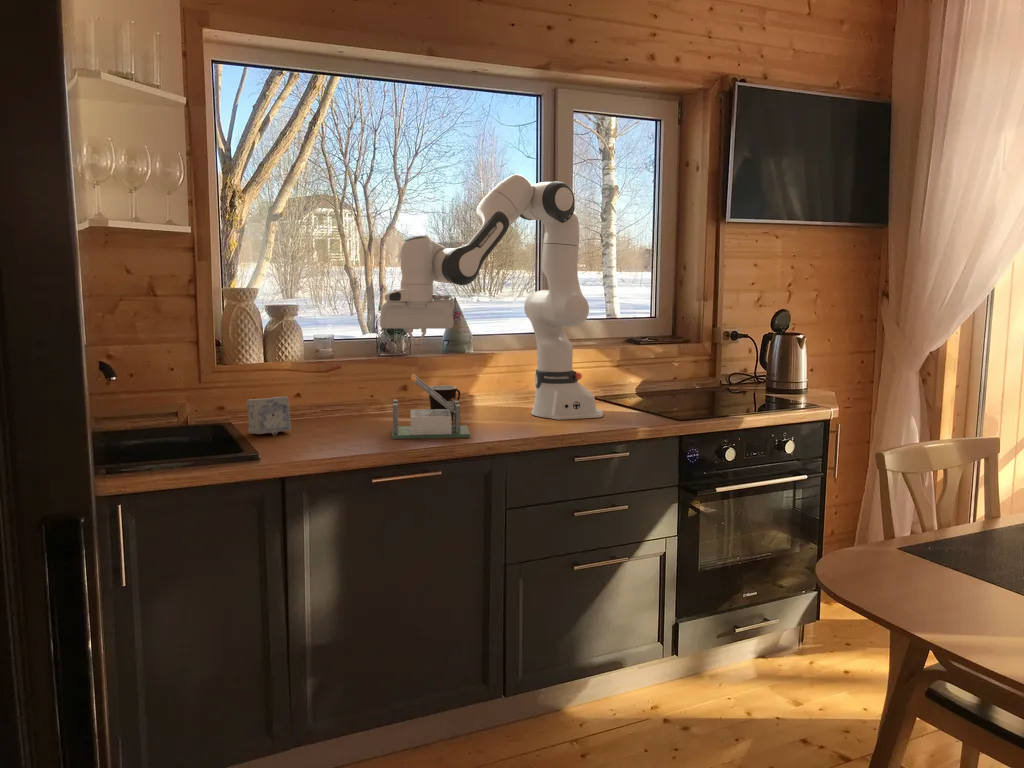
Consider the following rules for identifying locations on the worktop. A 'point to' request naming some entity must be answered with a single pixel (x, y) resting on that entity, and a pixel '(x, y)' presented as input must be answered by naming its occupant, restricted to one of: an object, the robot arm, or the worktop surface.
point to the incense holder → (268, 415)
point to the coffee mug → (444, 396)
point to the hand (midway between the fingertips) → (417, 344)
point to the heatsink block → (430, 424)
